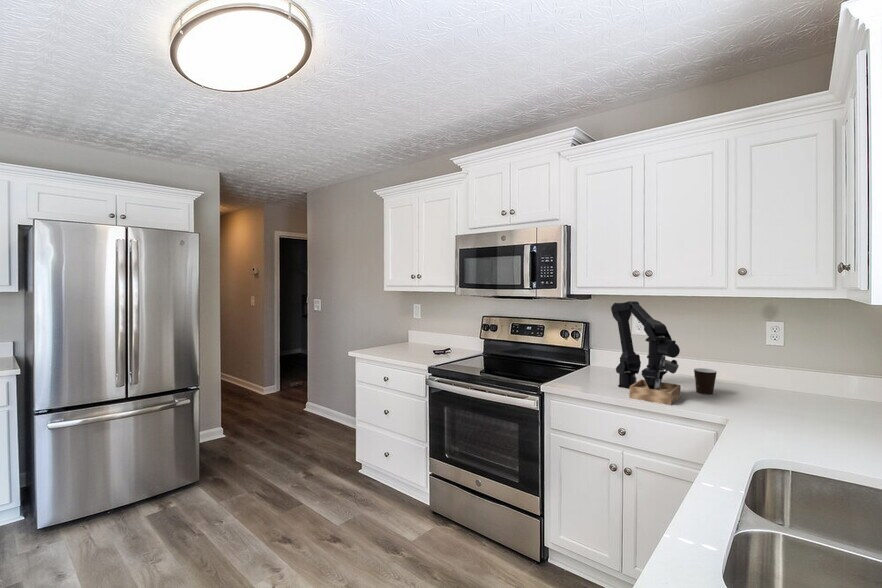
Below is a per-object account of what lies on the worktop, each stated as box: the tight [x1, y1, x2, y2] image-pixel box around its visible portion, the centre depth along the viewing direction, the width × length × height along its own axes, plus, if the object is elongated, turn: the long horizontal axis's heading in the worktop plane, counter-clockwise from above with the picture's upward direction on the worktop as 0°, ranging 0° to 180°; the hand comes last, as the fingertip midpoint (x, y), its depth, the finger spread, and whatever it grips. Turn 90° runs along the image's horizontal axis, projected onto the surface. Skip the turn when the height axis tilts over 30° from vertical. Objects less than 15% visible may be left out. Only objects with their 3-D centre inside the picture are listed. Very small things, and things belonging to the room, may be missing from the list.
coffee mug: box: [693, 367, 718, 396], centre depth 198 cm, size 12×9×10 cm
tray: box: [628, 379, 682, 406], centre depth 190 cm, size 16×16×5 cm
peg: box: [654, 378, 660, 390], centre depth 190 cm, size 4×4×8 cm
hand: (655, 389), depth 190 cm, fingers open, 9 cm apart
